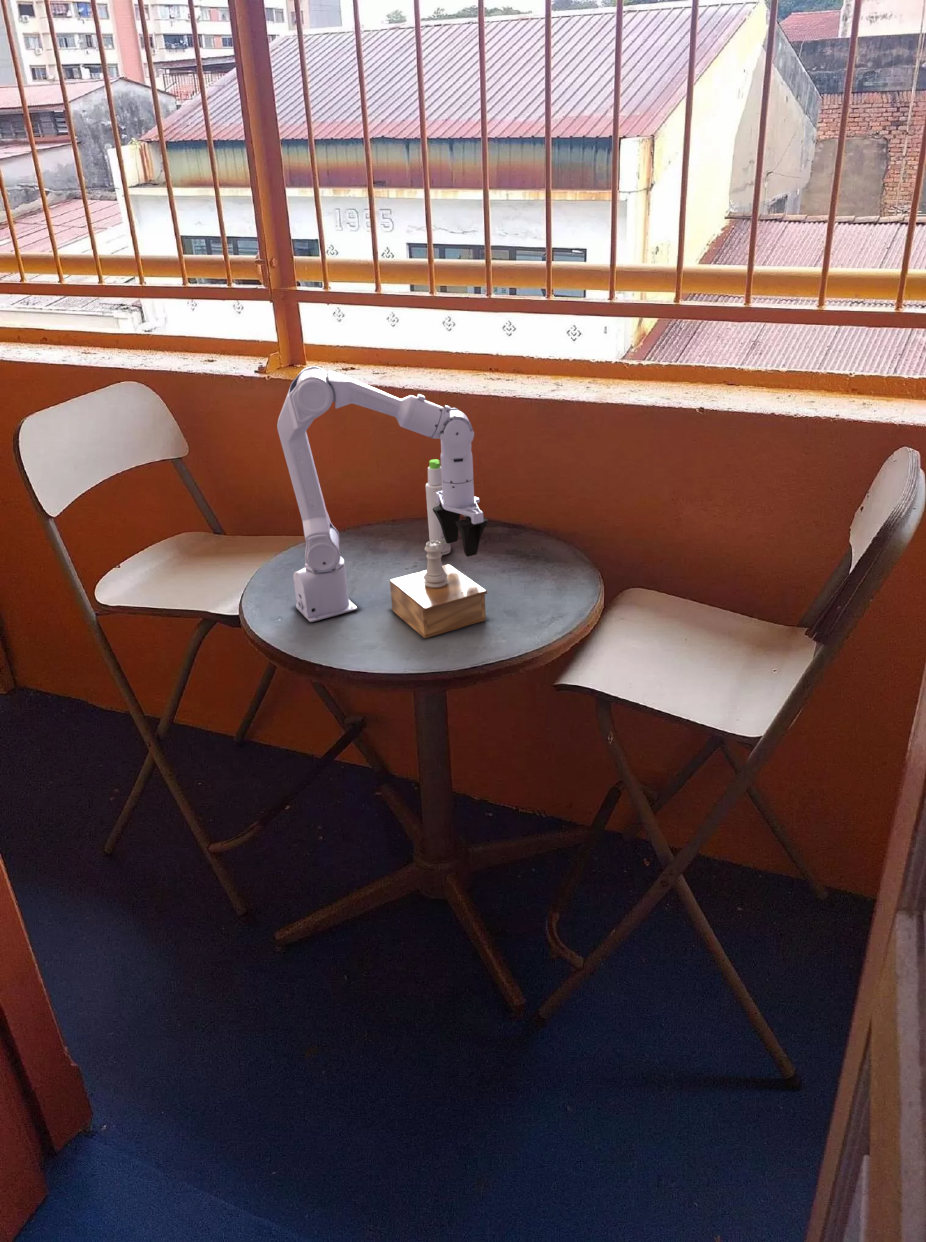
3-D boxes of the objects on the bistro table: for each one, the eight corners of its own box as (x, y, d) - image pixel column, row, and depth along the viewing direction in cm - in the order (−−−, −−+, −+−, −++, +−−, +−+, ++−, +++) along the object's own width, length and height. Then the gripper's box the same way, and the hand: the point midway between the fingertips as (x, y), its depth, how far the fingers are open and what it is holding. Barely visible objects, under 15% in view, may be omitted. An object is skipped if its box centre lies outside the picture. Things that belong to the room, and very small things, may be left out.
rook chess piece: (453, 583, 166) (451, 542, 163) (435, 591, 164) (432, 550, 160) (436, 576, 169) (434, 536, 166) (418, 584, 167) (415, 543, 163)
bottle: (431, 556, 194) (425, 464, 185) (429, 548, 198) (422, 458, 189) (452, 554, 195) (446, 462, 185) (449, 546, 198) (443, 456, 189)
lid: (487, 593, 163) (486, 590, 163) (424, 611, 158) (424, 608, 158) (448, 566, 175) (448, 563, 174) (389, 582, 169) (389, 579, 169)
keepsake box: (485, 620, 167) (484, 591, 164) (424, 638, 162) (422, 609, 159) (450, 594, 177) (448, 567, 175) (392, 610, 172) (389, 582, 169)
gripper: (497, 484, 162) (499, 556, 168) (457, 464, 174) (461, 532, 180) (462, 492, 159) (465, 564, 165) (424, 471, 171) (429, 539, 177)
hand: (461, 548), depth 172 cm, fingers open, 7 cm apart
